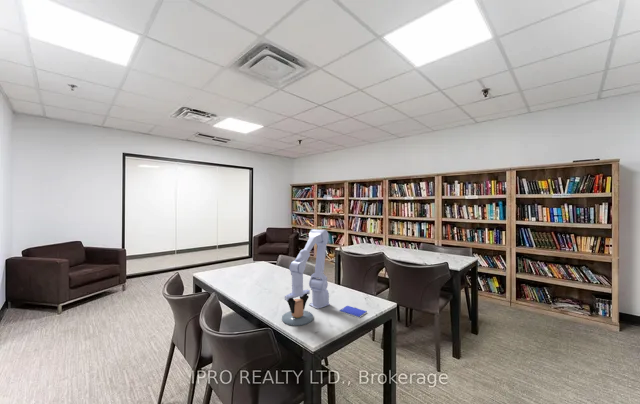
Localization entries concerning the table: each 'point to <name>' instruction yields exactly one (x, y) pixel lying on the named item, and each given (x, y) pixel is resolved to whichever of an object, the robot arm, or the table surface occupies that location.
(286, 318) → the lid
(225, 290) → the table surface
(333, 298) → the table surface
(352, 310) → the hard drive
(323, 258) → the robot arm
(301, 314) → the tan piece
